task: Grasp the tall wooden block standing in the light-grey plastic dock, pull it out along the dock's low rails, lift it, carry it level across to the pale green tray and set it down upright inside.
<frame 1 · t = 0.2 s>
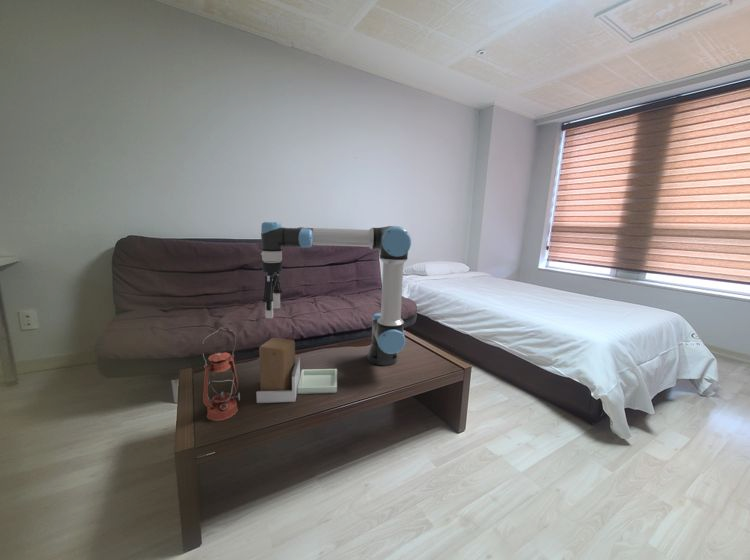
hand: (273, 312, 124), 28 cm above the table, fingers open, 13 cm apart
tray: (318, 383, 124), on the table
wooden block: (278, 391, 118), on the table
lantern: (223, 412, 104), on the table
dock: (278, 391, 118), on the table
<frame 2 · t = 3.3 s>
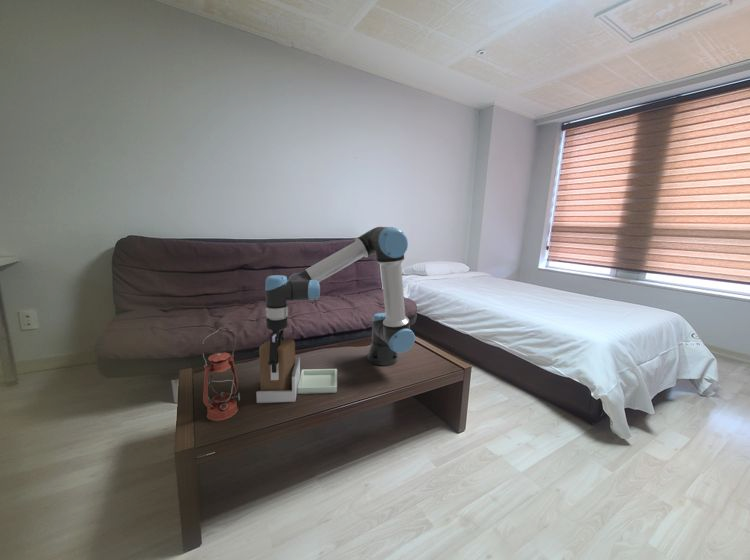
hand: (278, 371, 116), 8 cm above the table, fingers closed on wooden block, 11 cm apart
wooden block: (278, 391, 118), on the table, touching gripper
everything else where it was.
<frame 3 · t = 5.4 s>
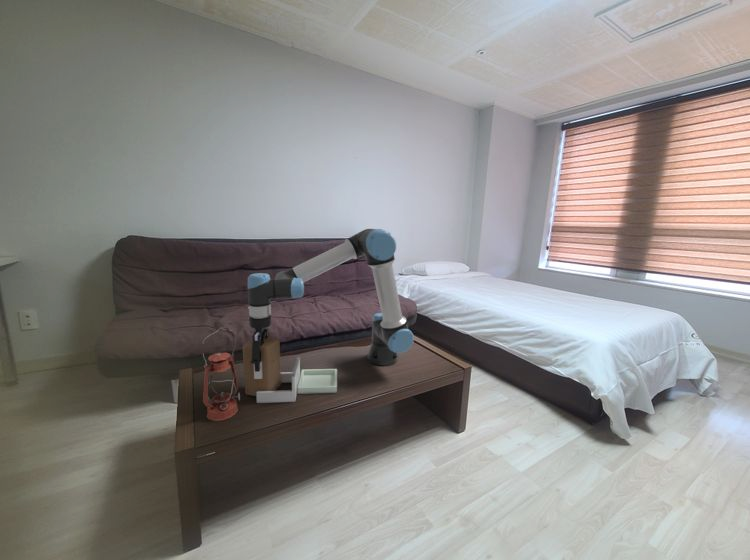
hand: (262, 370, 115), 9 cm above the table, fingers closed on wooden block, 11 cm apart
wooden block: (263, 390, 117), on the table, touching gripper
everything else where it was.
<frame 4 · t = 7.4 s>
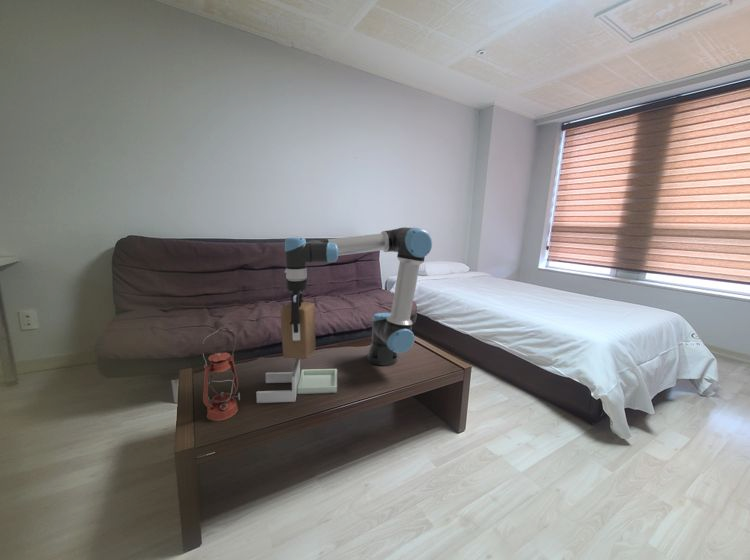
hand: (298, 334, 118), 22 cm above the table, fingers closed on wooden block, 11 cm apart
wooden block: (299, 354, 119), point 14 cm above the table, touching gripper
everything else where it was.
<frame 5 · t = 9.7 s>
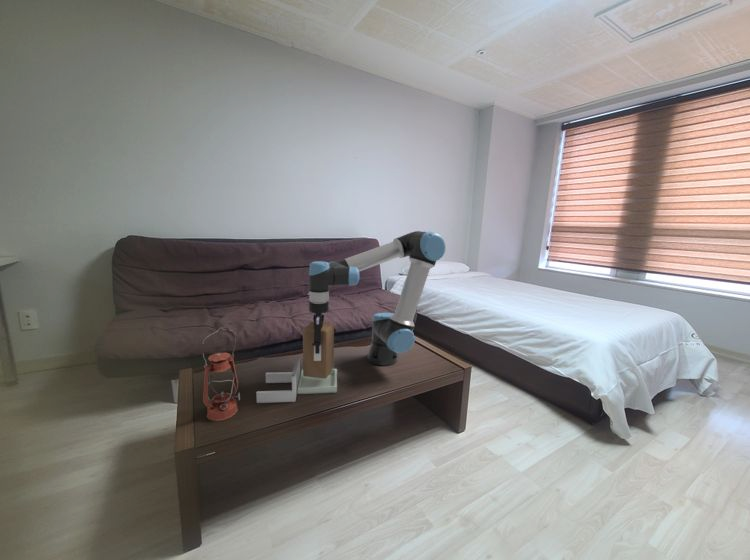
hand: (318, 353, 122), 13 cm above the table, fingers closed on wooden block, 11 cm apart
wooden block: (318, 373, 123), point 5 cm above the table, touching gripper
everything else where it was.
when the fingers open (11 cm above the table, at t = 11.3 s): wooden block drops 2 cm, resting on tray.
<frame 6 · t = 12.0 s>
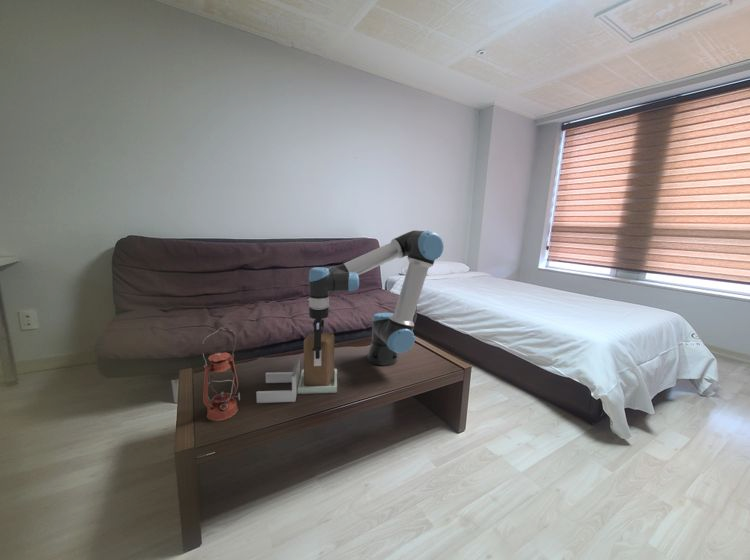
hand: (318, 357, 122), 11 cm above the table, fingers open, 13 cm apart
wooden block: (319, 382, 124), resting on tray
everything else where it was.
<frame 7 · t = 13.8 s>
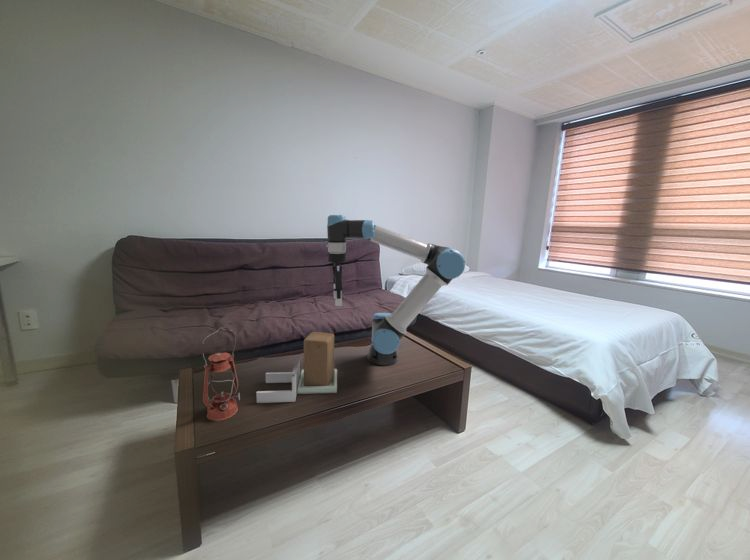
hand: (337, 301, 131), 32 cm above the table, fingers open, 13 cm apart
nothing on the table moved.
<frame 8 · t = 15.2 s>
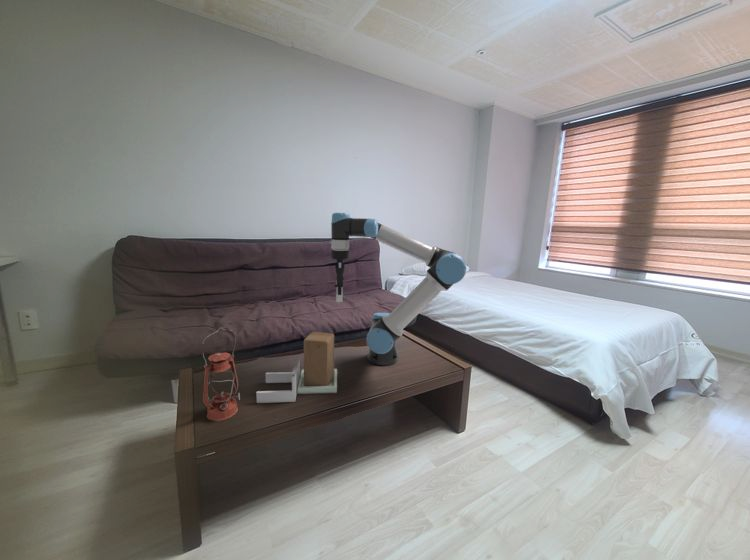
hand: (339, 298, 133), 33 cm above the table, fingers open, 13 cm apart
nothing on the table moved.
at the end: wooden block 0.3 cm off-centre on the tray, point 0.4 cm above the tray's base; wooden block tilted 0°; wooden block touching tray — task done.
